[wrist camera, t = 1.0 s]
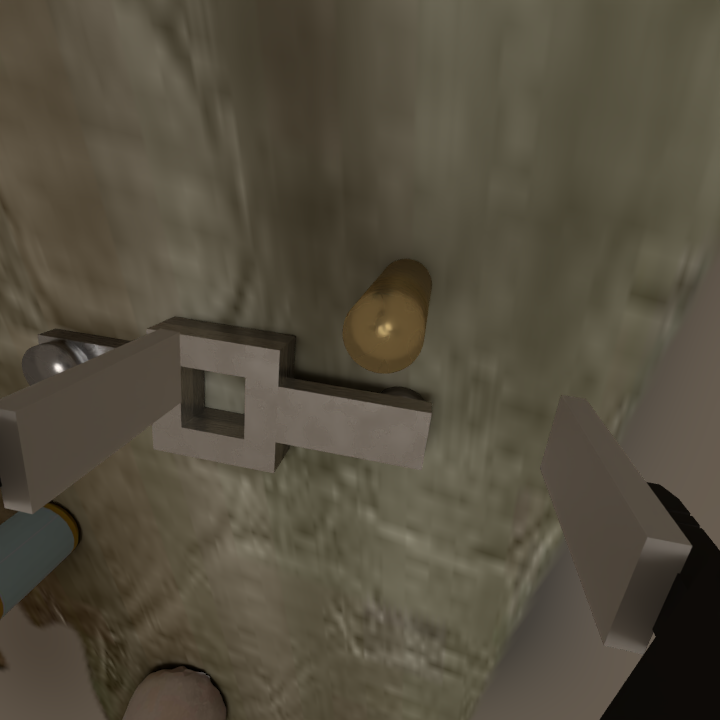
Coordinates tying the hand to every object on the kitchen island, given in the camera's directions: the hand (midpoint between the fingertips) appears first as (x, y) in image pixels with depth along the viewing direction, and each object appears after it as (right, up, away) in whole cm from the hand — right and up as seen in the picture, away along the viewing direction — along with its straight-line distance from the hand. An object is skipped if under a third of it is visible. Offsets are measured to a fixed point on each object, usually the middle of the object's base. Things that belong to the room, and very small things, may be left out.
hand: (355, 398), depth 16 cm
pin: (+4, +7, +20) cm, 21 cm away
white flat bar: (-11, -1, +25) cm, 28 cm away
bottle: (-34, -17, +35) cm, 52 cm away
